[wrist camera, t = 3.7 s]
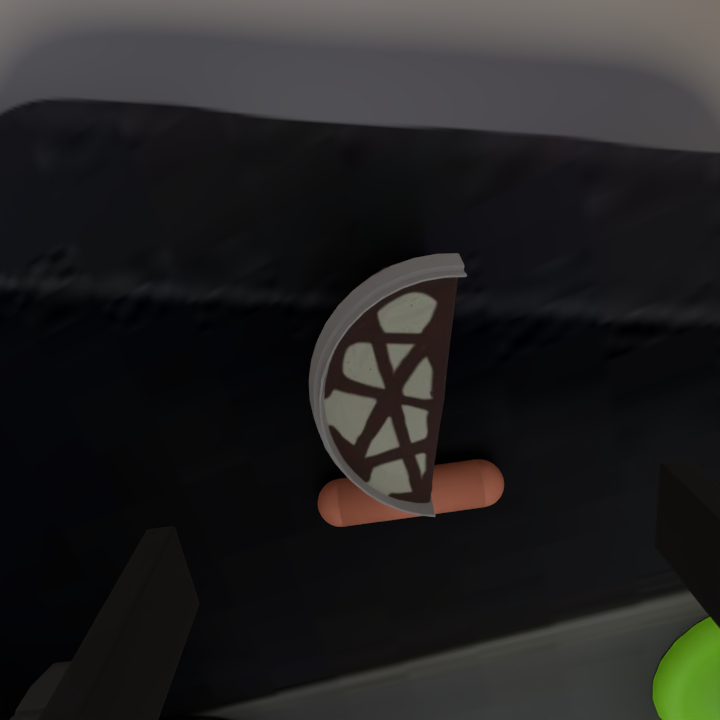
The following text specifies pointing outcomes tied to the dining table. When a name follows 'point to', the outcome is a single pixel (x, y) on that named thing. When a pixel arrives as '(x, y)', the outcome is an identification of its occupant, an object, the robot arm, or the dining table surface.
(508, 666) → the dining table surface
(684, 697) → the wineglass
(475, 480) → the sausage
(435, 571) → the dining table surface
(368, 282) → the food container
